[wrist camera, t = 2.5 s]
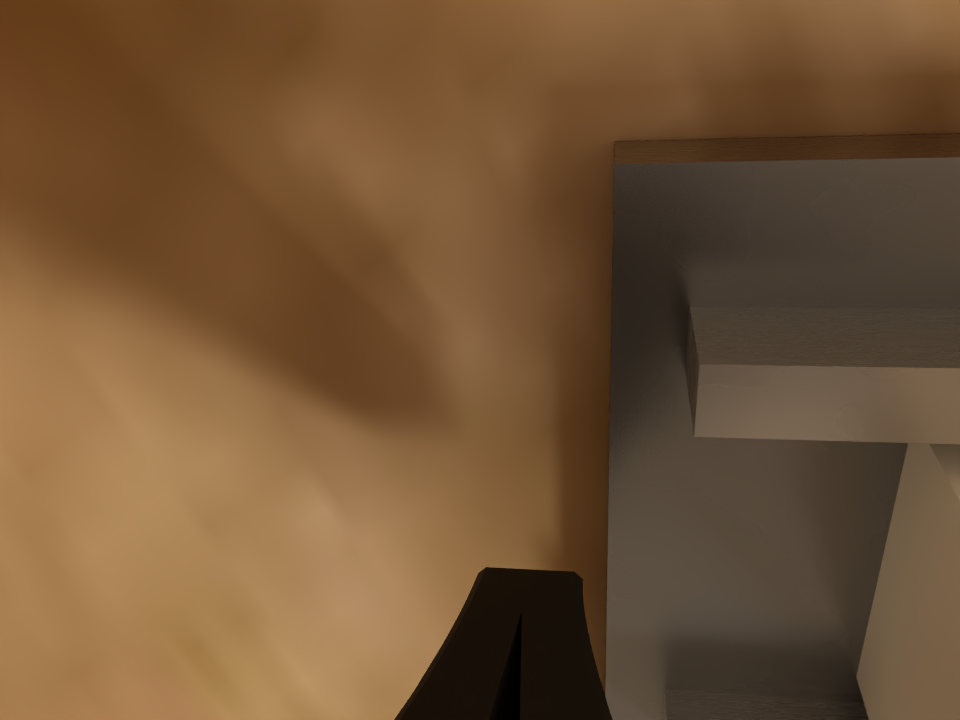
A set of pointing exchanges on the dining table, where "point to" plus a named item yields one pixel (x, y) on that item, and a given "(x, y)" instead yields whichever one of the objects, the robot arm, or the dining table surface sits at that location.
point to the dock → (768, 409)
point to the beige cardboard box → (918, 596)
